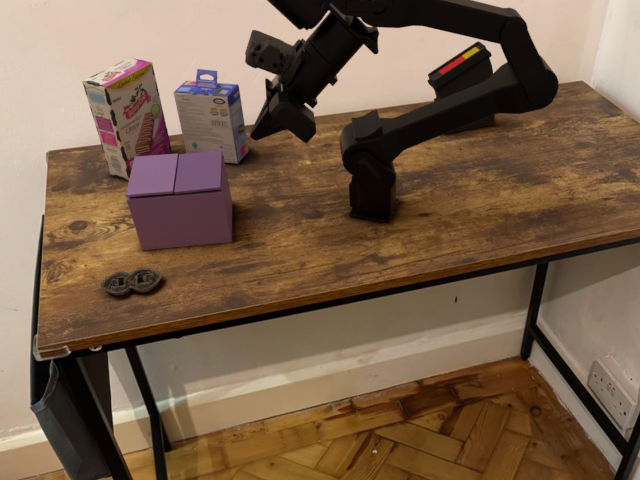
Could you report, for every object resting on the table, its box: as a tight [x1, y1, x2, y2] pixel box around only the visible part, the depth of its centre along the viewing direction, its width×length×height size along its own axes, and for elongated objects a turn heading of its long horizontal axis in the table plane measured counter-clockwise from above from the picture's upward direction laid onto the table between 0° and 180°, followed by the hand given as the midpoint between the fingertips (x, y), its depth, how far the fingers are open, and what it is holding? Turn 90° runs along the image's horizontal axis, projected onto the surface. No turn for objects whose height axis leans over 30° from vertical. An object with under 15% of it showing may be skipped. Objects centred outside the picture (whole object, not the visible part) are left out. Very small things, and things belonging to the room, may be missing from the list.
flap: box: [174, 150, 222, 194], centre depth 96 cm, size 6×11×1 cm, turn 9°
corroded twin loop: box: [100, 267, 163, 296], centre depth 91 cm, size 5×8×1 cm, turn 105°
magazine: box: [426, 41, 496, 134], centre depth 122 cm, size 4×13×15 cm, turn 111°
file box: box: [125, 153, 233, 251], centre depth 99 cm, size 13×11×9 cm
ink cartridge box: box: [173, 68, 250, 165], centre depth 113 cm, size 10×6×14 cm, turn 78°
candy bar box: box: [81, 57, 173, 182], centre depth 110 cm, size 11×5×16 cm, turn 155°
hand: (252, 137), depth 94 cm, fingers closed
